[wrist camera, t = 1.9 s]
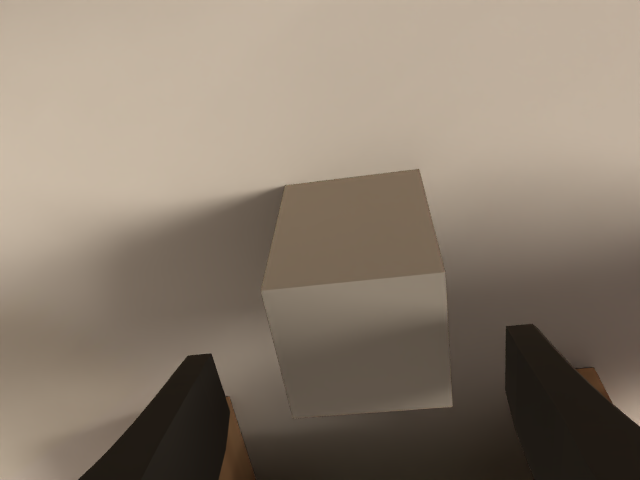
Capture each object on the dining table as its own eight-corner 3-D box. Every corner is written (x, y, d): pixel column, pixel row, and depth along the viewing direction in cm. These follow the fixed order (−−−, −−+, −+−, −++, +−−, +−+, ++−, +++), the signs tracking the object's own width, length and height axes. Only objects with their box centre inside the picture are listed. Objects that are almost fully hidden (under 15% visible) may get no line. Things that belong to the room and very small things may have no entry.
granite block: (419, 168, 19) (445, 271, 13) (427, 280, 21) (452, 406, 16) (285, 185, 19) (260, 290, 14) (306, 292, 21) (292, 418, 16)
